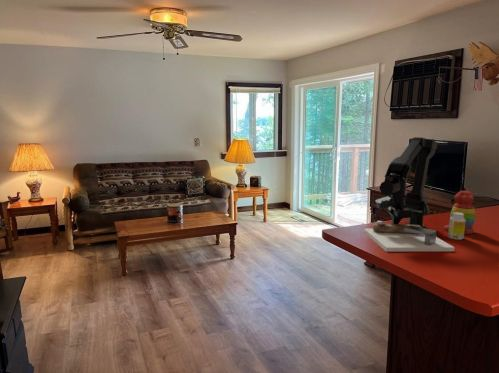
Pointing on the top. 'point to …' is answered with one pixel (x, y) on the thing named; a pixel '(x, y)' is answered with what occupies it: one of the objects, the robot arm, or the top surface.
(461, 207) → the stacking bear
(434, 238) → the keeper
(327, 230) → the top surface
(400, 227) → the brown wooden bar
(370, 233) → the board
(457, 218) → the supplement bottle
